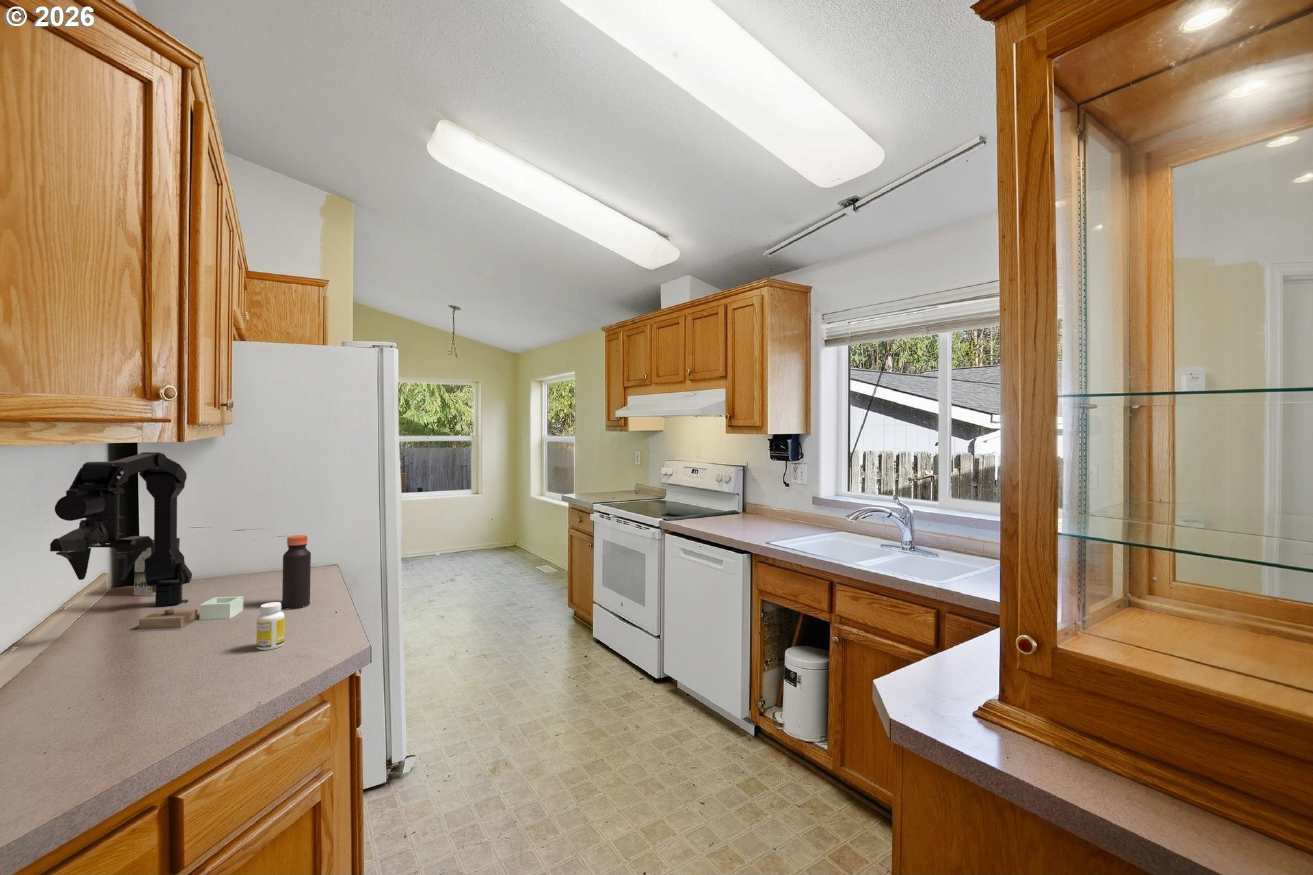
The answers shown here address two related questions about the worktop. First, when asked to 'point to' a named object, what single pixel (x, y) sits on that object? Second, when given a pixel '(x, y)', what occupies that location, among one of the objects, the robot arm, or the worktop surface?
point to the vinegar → (296, 573)
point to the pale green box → (221, 608)
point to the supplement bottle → (270, 626)
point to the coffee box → (139, 576)
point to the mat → (164, 628)
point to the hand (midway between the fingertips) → (102, 579)
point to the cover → (168, 619)
